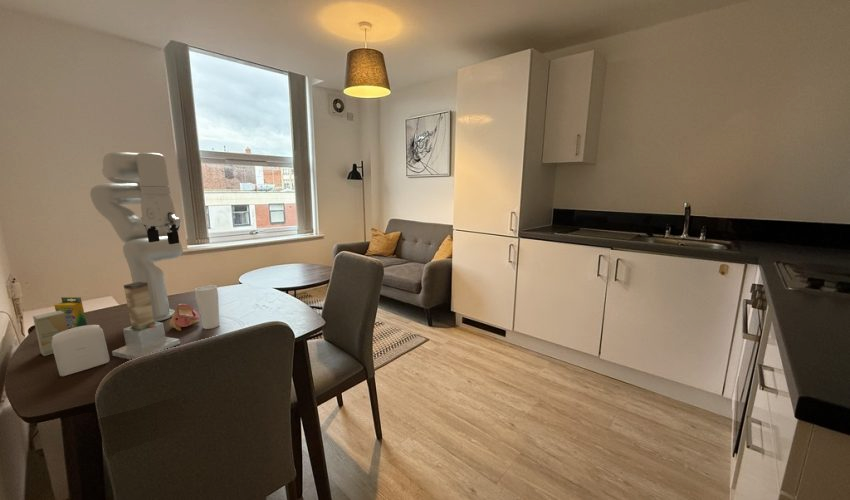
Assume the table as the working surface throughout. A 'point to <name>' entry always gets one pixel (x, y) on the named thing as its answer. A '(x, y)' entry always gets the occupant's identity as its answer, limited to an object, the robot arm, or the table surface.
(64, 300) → the crayon box
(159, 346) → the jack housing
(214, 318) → the drinking glass
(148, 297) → the column
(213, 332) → the table surface
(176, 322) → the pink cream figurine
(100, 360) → the photo printer
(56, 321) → the skincare box
